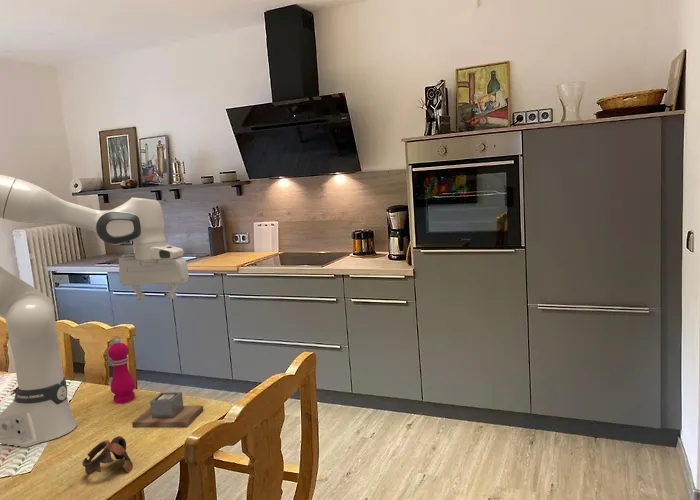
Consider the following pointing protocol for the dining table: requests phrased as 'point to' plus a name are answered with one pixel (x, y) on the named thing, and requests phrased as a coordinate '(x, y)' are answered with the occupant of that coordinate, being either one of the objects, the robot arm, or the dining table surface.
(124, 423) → the dining table surface
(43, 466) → the dining table surface
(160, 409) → the grey open box
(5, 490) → the dining table surface
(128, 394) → the pepper mill
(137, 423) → the post stand
